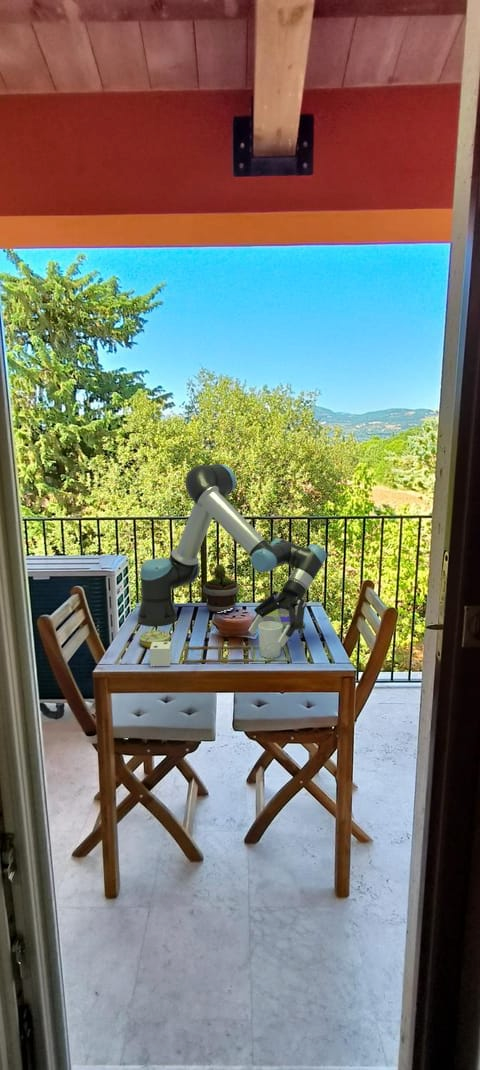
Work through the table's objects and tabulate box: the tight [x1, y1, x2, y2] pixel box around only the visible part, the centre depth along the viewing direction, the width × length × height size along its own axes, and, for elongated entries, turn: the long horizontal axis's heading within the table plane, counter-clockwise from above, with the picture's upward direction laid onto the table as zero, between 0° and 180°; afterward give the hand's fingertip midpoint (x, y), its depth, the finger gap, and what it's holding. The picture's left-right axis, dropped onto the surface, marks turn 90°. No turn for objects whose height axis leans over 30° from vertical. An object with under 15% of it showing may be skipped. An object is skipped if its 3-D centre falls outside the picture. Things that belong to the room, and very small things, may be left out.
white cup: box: [258, 621, 283, 659], centre depth 176 cm, size 8×8×10 cm
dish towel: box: [262, 605, 306, 631], centre depth 211 cm, size 18×24×3 cm
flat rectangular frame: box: [182, 644, 291, 664], centre depth 176 cm, size 34×12×1 cm, turn 92°
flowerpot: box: [202, 562, 240, 614], centre depth 221 cm, size 14×15×20 cm
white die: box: [149, 641, 173, 668], centre depth 169 cm, size 6×6×6 cm
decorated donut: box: [138, 629, 171, 649], centre depth 186 cm, size 10×11×4 cm
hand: (265, 638), depth 174 cm, fingers open, 13 cm apart
